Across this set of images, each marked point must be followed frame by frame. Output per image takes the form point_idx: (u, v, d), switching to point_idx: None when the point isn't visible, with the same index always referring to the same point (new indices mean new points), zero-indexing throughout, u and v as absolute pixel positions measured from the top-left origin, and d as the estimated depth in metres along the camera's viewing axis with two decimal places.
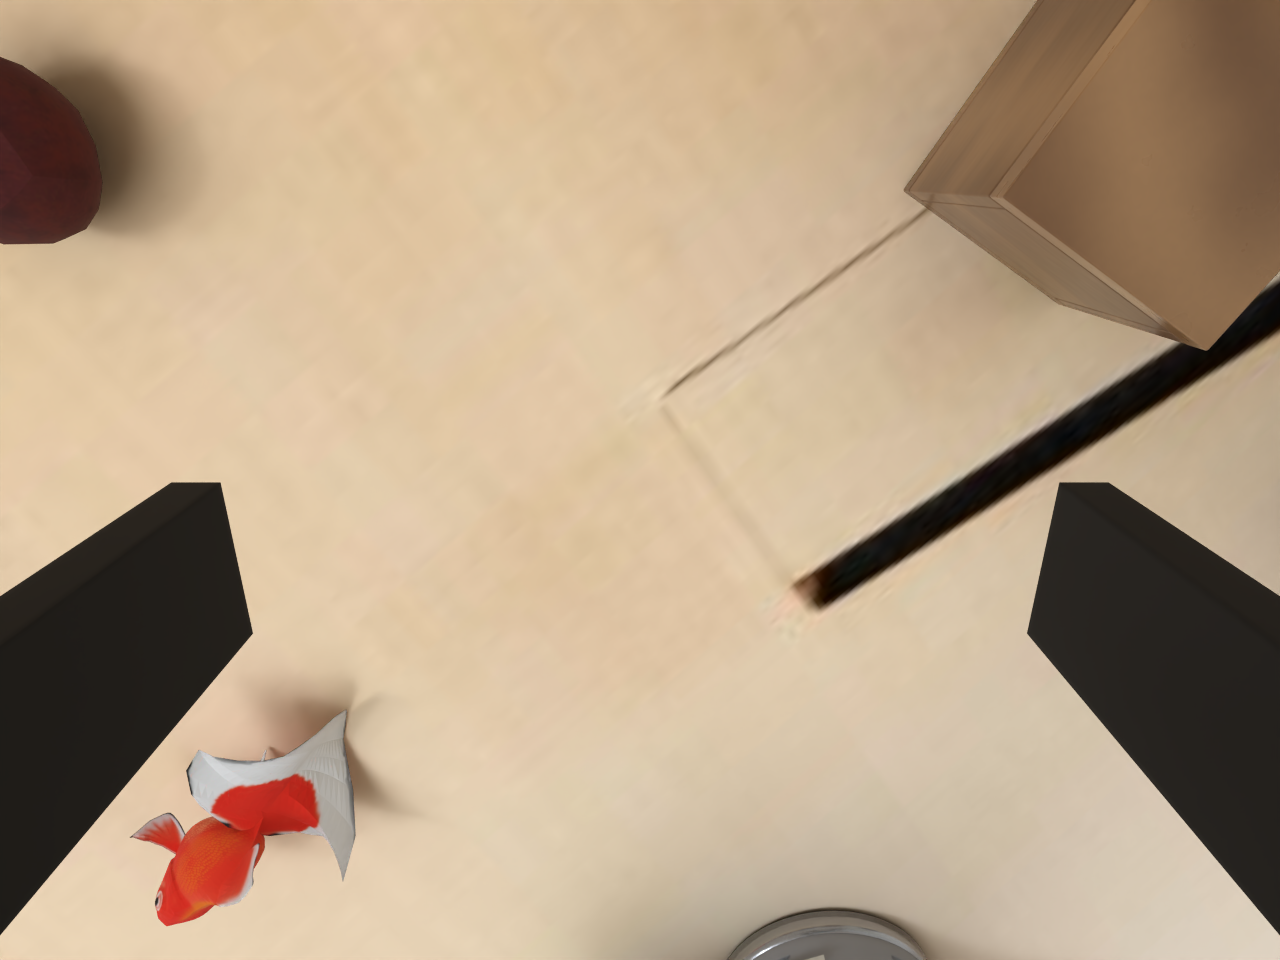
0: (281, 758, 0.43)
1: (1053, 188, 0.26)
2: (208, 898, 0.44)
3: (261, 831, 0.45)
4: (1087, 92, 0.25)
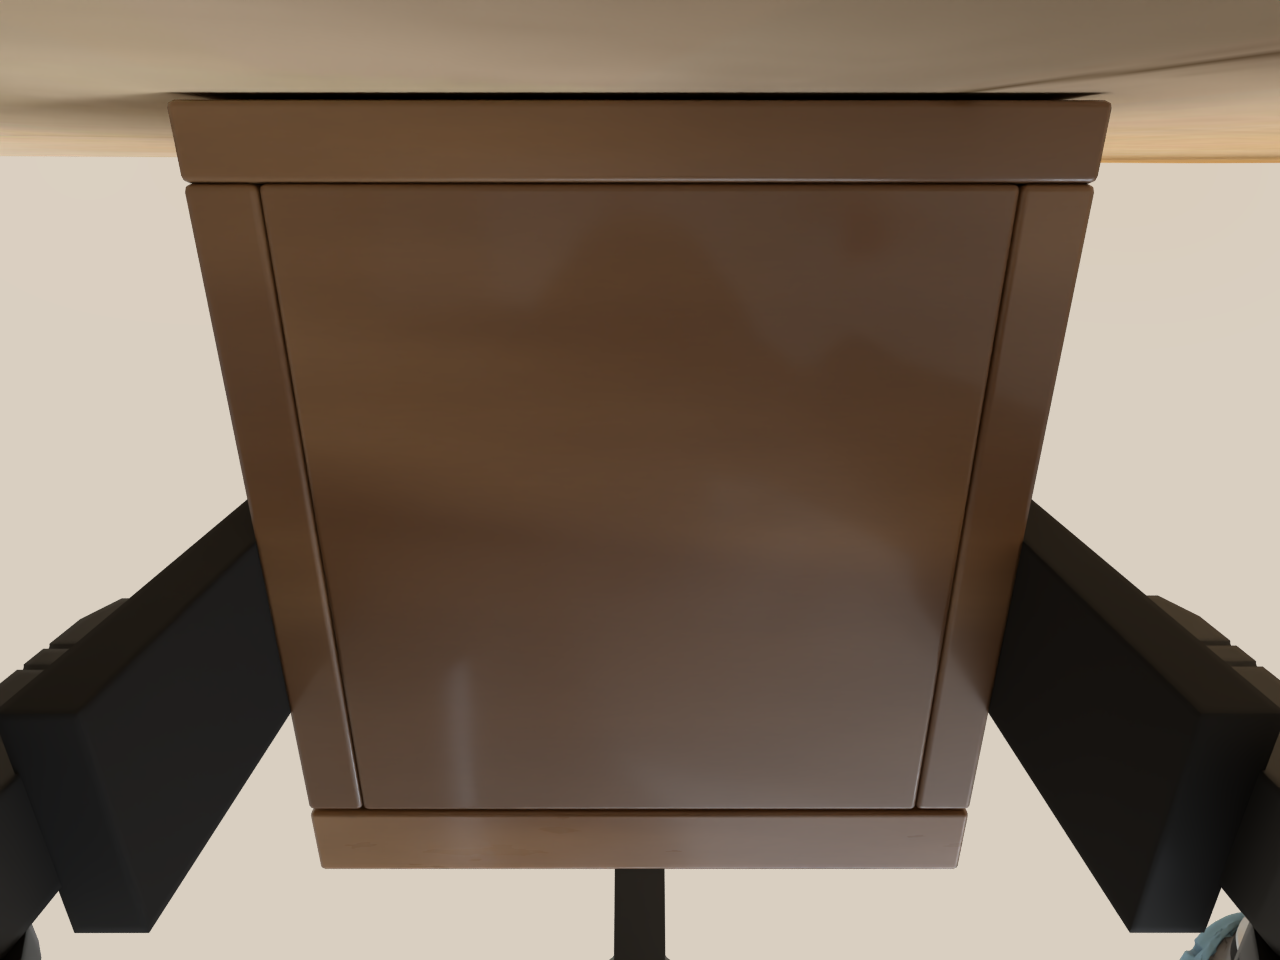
0: None
1: None
2: None
3: None
4: None
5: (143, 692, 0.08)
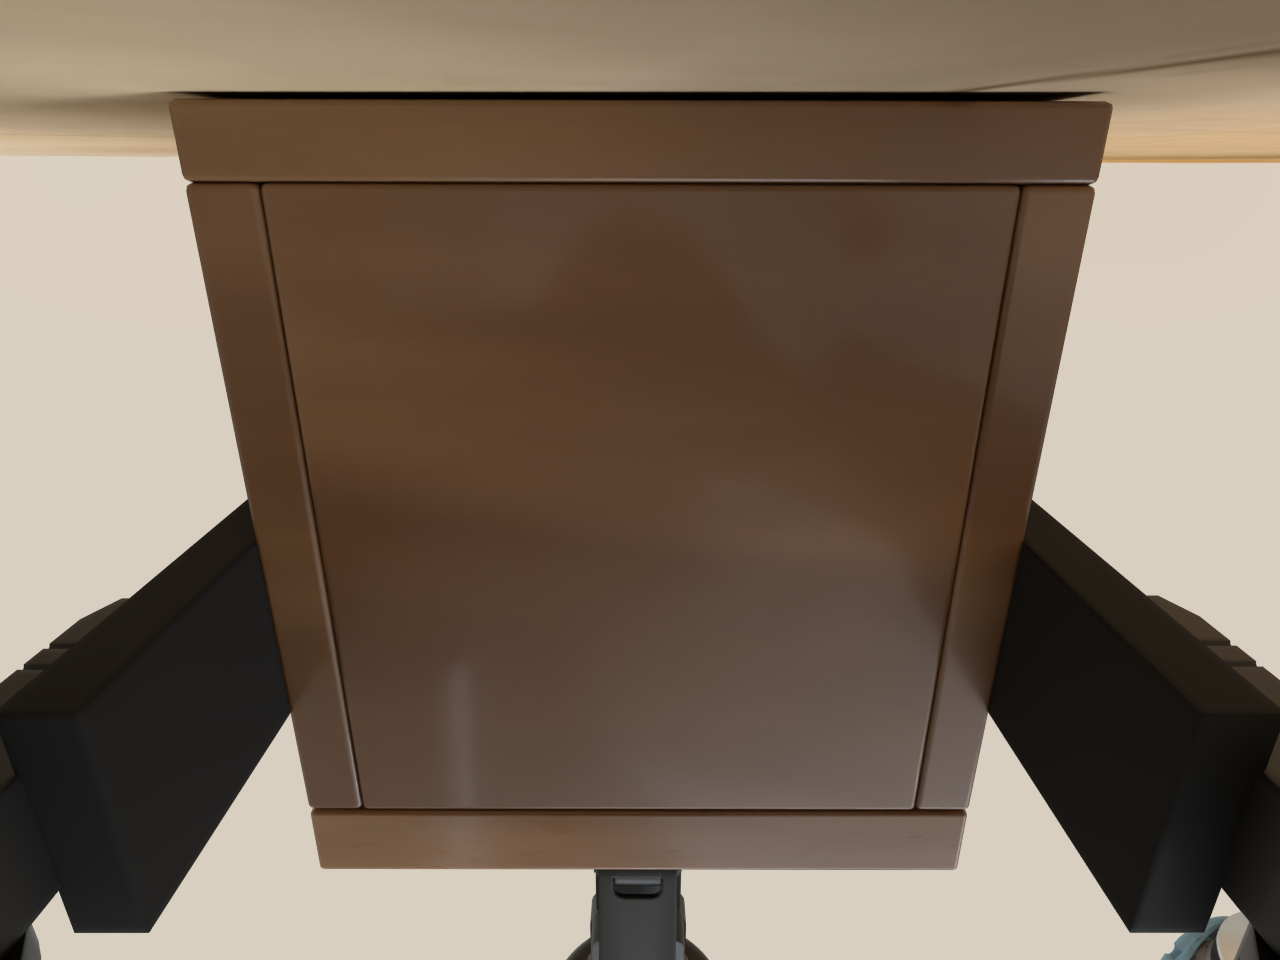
0: None
1: None
2: None
3: None
4: None
5: (142, 692, 0.08)
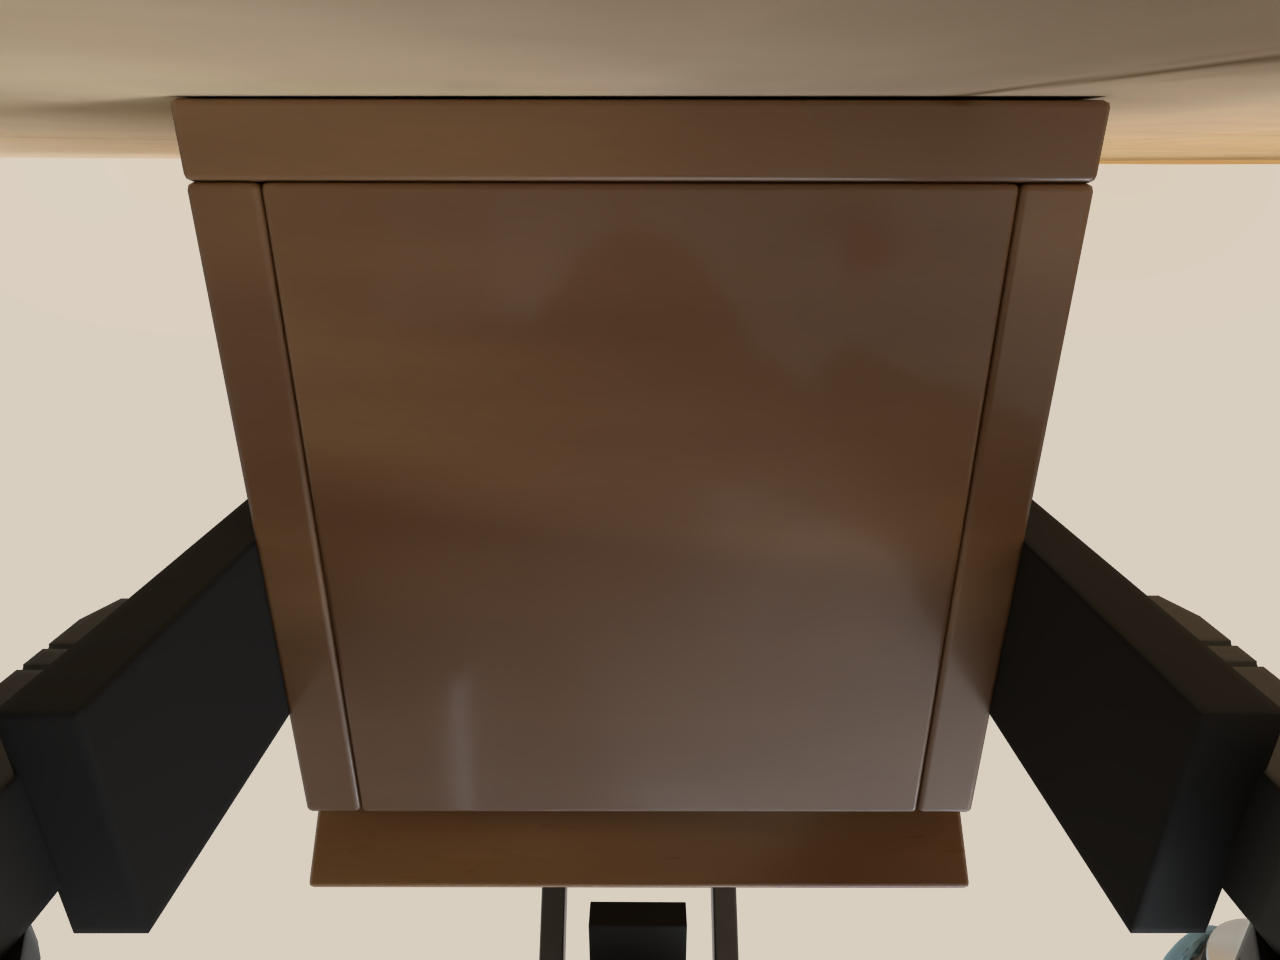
0: None
1: None
2: None
3: None
4: None
5: (141, 692, 0.08)
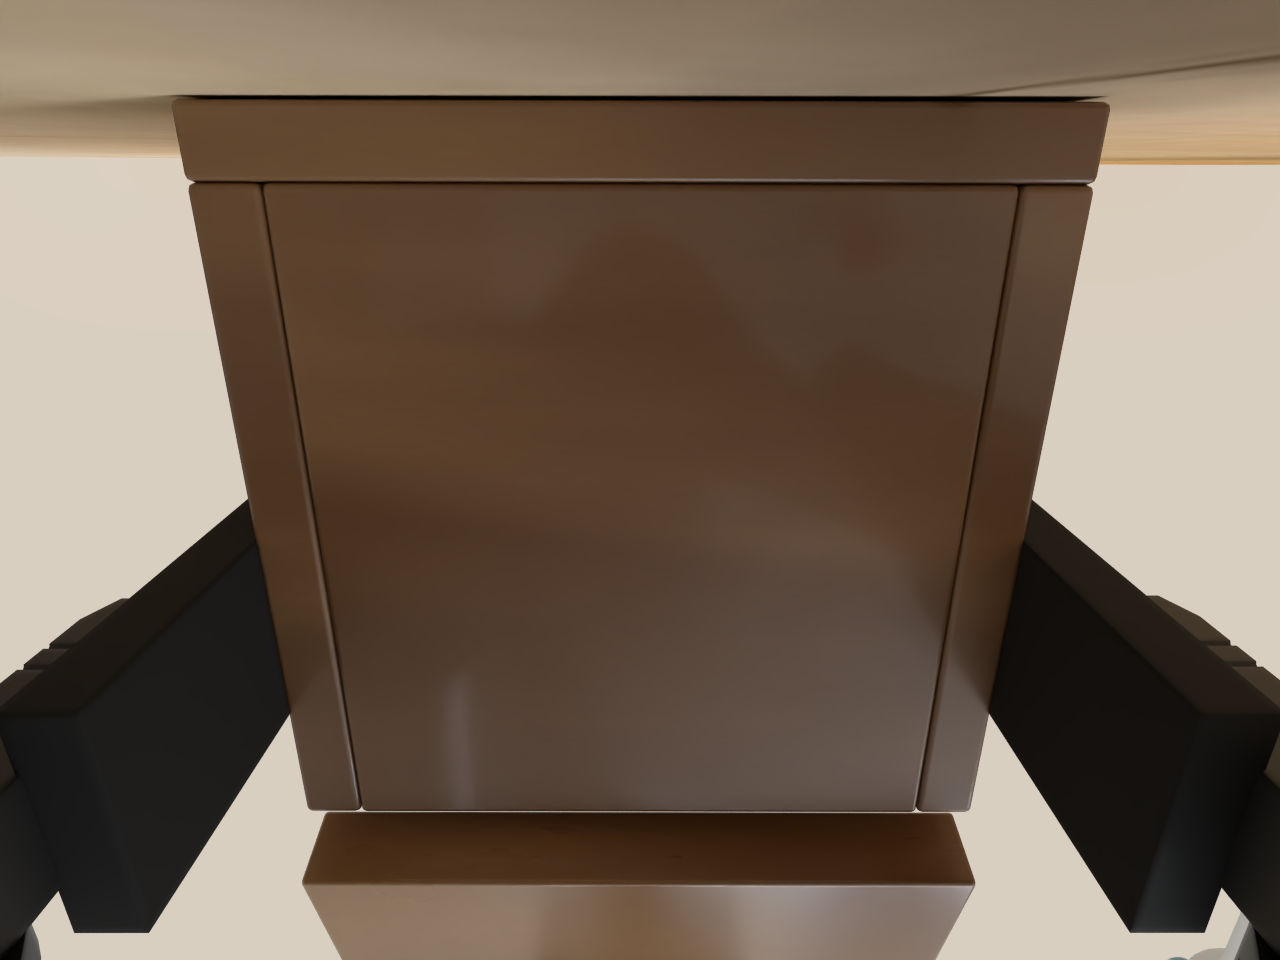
0: None
1: (877, 920, 0.12)
2: None
3: None
4: None
5: (142, 693, 0.08)
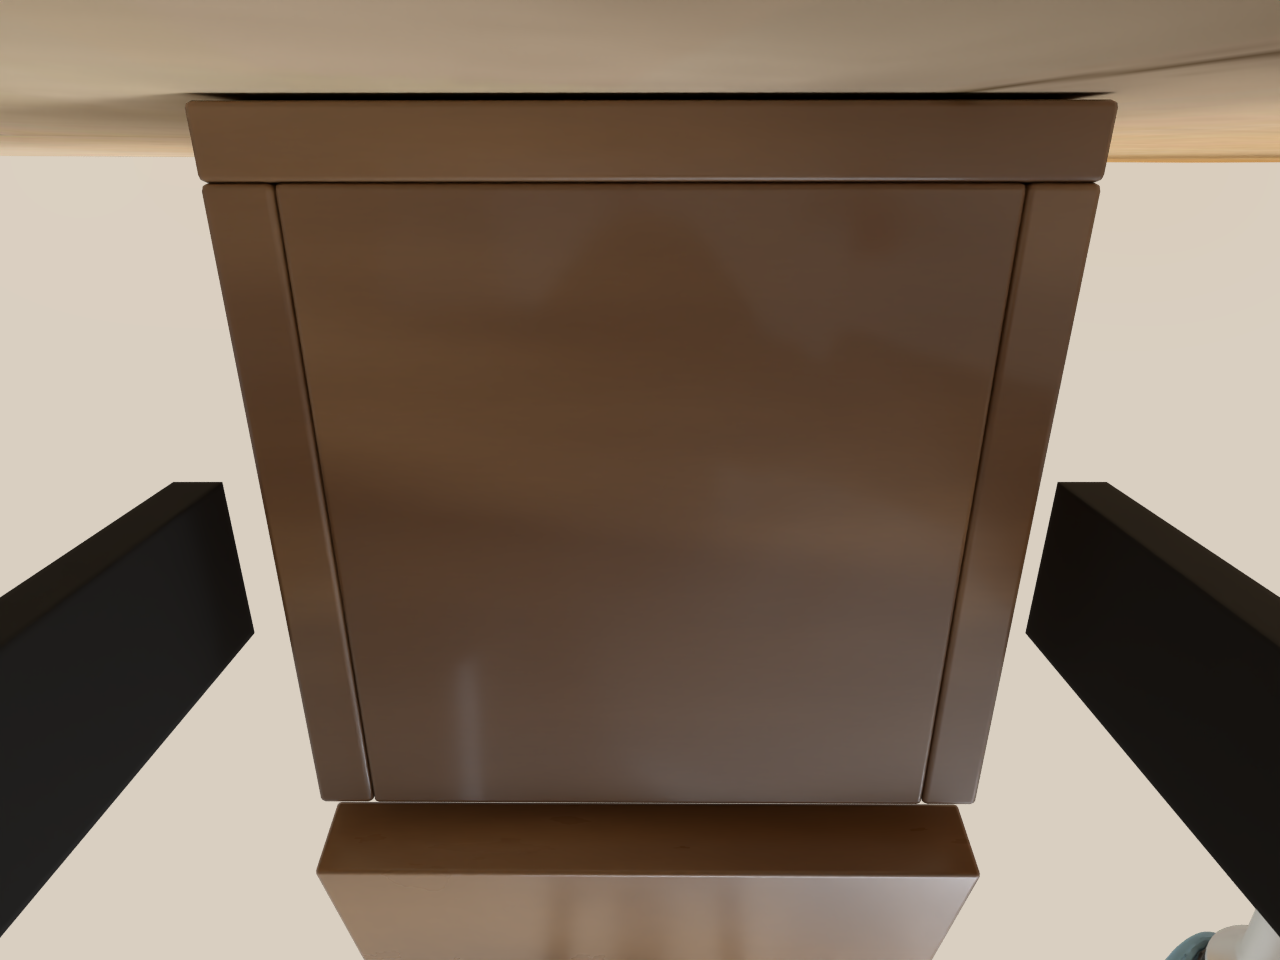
0: None
1: (882, 909, 0.12)
2: None
3: None
4: None
5: None
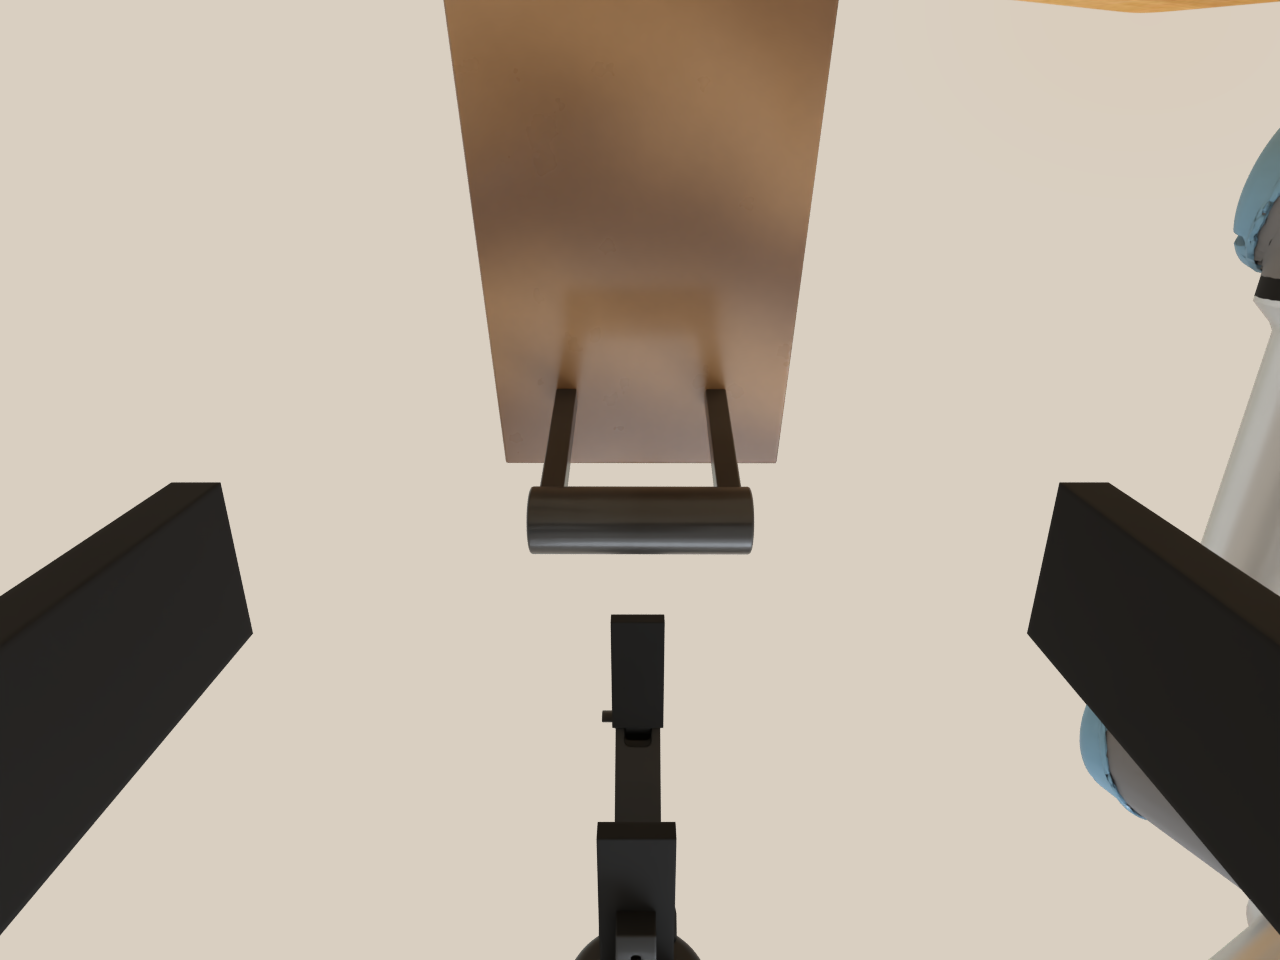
0: None
1: None
2: None
3: None
4: (819, 101, 0.21)
5: None
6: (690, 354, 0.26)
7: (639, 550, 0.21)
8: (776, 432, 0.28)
